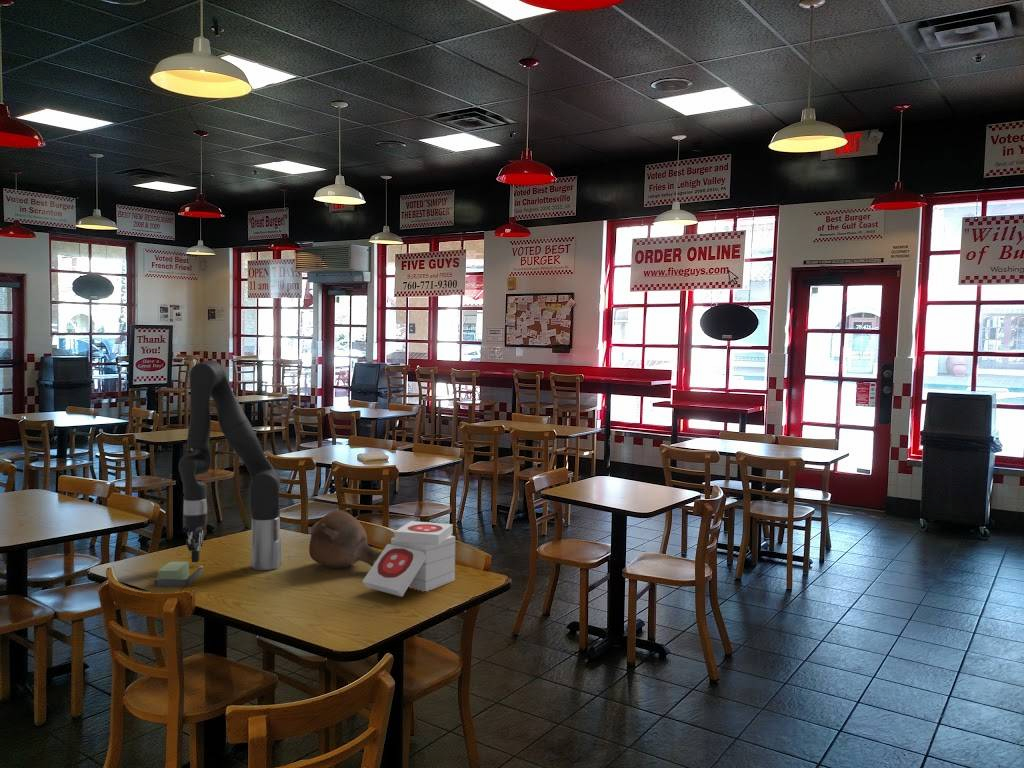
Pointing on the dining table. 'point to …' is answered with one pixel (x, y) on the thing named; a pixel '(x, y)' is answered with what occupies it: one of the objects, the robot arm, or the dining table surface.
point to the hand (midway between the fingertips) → (195, 561)
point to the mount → (179, 580)
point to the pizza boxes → (415, 559)
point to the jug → (340, 541)
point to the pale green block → (174, 571)
